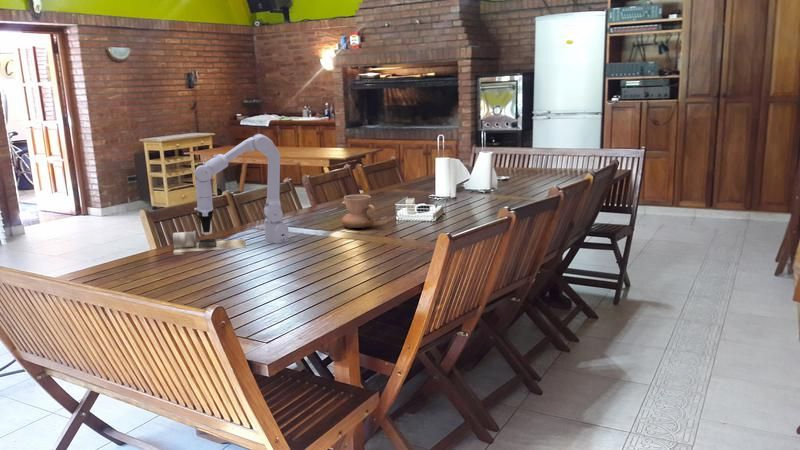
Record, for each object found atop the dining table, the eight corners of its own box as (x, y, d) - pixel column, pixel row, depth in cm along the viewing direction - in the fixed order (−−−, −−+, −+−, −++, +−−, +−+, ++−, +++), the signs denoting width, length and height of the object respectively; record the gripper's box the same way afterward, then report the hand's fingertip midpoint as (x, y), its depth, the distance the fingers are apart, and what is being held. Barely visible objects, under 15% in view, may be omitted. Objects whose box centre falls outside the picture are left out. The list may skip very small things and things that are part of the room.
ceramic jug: (333, 227, 286) (332, 196, 283) (353, 222, 298) (353, 192, 295) (364, 233, 276) (363, 201, 273) (384, 227, 288) (384, 196, 285)
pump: (214, 233, 250) (213, 215, 249) (205, 235, 247) (204, 217, 246) (208, 231, 253) (207, 214, 251) (199, 233, 250) (198, 215, 248)
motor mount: (244, 241, 262) (243, 224, 260) (246, 250, 248) (245, 231, 247) (175, 246, 254) (174, 228, 253) (173, 255, 241) (171, 236, 240)
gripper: (194, 194, 252) (196, 227, 255) (192, 200, 239) (195, 235, 242) (212, 193, 254) (214, 226, 257) (212, 199, 241) (214, 234, 244)
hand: (206, 230), depth 250 cm, fingers closed on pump, 4 cm apart
